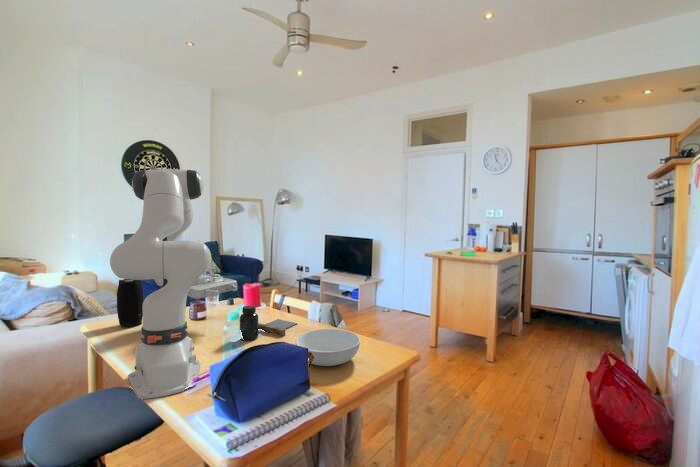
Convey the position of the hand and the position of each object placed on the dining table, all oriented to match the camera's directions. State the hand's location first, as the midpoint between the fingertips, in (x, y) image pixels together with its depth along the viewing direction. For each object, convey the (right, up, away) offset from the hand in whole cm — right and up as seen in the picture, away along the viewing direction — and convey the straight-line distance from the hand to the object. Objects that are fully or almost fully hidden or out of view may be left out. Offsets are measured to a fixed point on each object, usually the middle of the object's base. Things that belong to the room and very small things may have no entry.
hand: (226, 291), depth 135 cm
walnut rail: (+15, -17, +2) cm, 22 cm away
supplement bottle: (+10, -17, -5) cm, 21 cm away
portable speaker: (-43, -16, +8) cm, 46 cm away
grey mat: (+19, -16, +9) cm, 27 cm away
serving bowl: (+42, -19, -24) cm, 51 cm away
